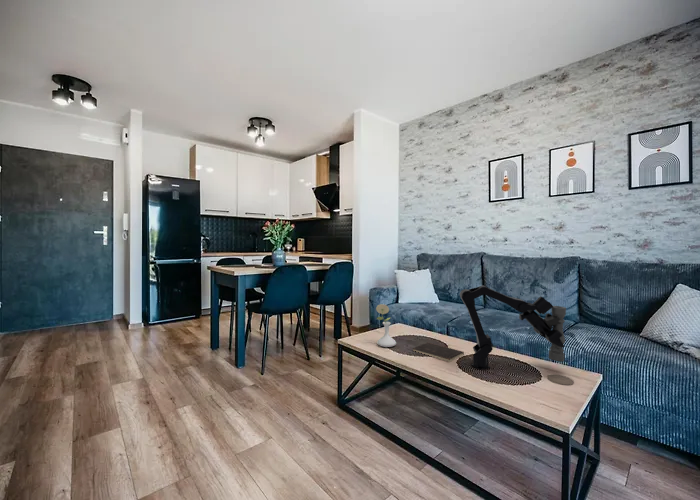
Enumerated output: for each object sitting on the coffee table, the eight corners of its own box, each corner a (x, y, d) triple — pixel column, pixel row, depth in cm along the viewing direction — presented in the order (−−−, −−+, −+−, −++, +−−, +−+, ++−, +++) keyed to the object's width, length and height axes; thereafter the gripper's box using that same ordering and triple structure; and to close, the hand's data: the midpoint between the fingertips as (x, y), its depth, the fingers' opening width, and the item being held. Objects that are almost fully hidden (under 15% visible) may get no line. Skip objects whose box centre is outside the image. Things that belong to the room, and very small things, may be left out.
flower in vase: (399, 344, 190) (399, 303, 189) (391, 349, 180) (391, 307, 179) (380, 340, 197) (380, 301, 196) (371, 346, 187) (371, 304, 186)
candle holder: (564, 362, 144) (566, 309, 143) (548, 359, 147) (550, 307, 147) (564, 358, 149) (566, 307, 148) (549, 355, 152) (551, 305, 152)
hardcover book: (449, 363, 161) (449, 359, 161) (412, 352, 178) (412, 348, 178) (464, 355, 172) (464, 351, 172) (428, 345, 189) (428, 342, 189)
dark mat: (563, 386, 133) (563, 385, 133) (541, 377, 142) (541, 376, 142) (579, 383, 136) (579, 382, 136) (557, 374, 146) (557, 373, 146)
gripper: (558, 313, 139) (585, 339, 137) (541, 305, 157) (564, 328, 155) (538, 330, 141) (564, 356, 139) (523, 320, 159) (546, 343, 157)
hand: (560, 344), depth 148 cm, fingers closed on candle holder, 6 cm apart
